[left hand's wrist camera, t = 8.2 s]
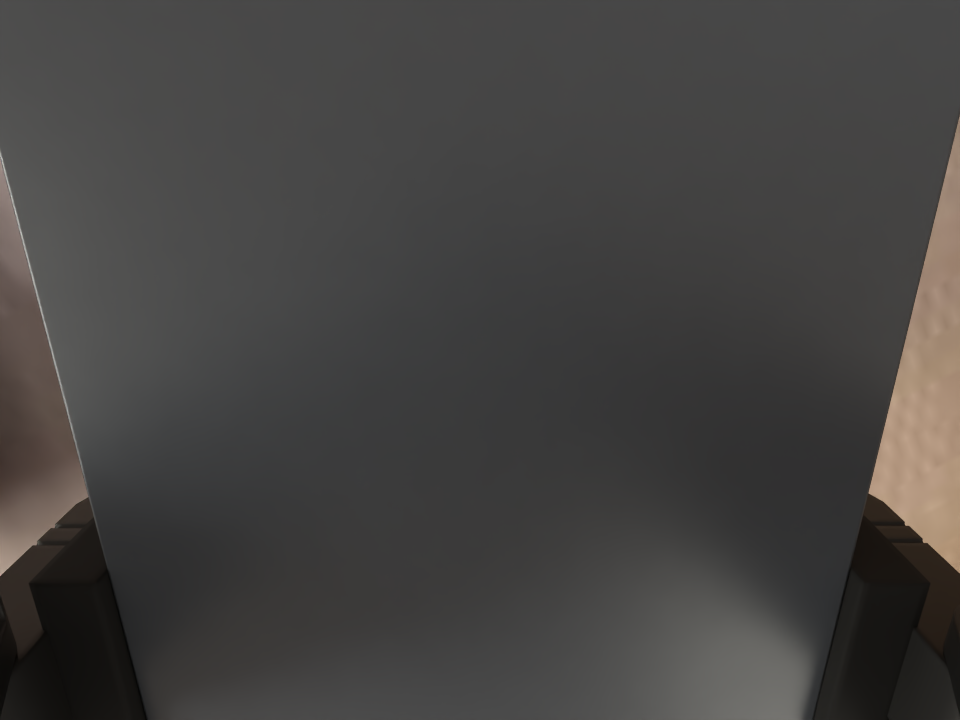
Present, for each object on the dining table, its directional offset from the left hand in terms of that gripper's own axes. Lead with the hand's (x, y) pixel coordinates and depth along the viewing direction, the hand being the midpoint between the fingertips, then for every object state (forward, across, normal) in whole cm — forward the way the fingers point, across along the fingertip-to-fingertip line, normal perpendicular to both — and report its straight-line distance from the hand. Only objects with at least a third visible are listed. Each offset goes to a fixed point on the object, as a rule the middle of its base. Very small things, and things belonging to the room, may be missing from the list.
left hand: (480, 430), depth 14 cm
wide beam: (+1, 0, -29) cm, 29 cm away
